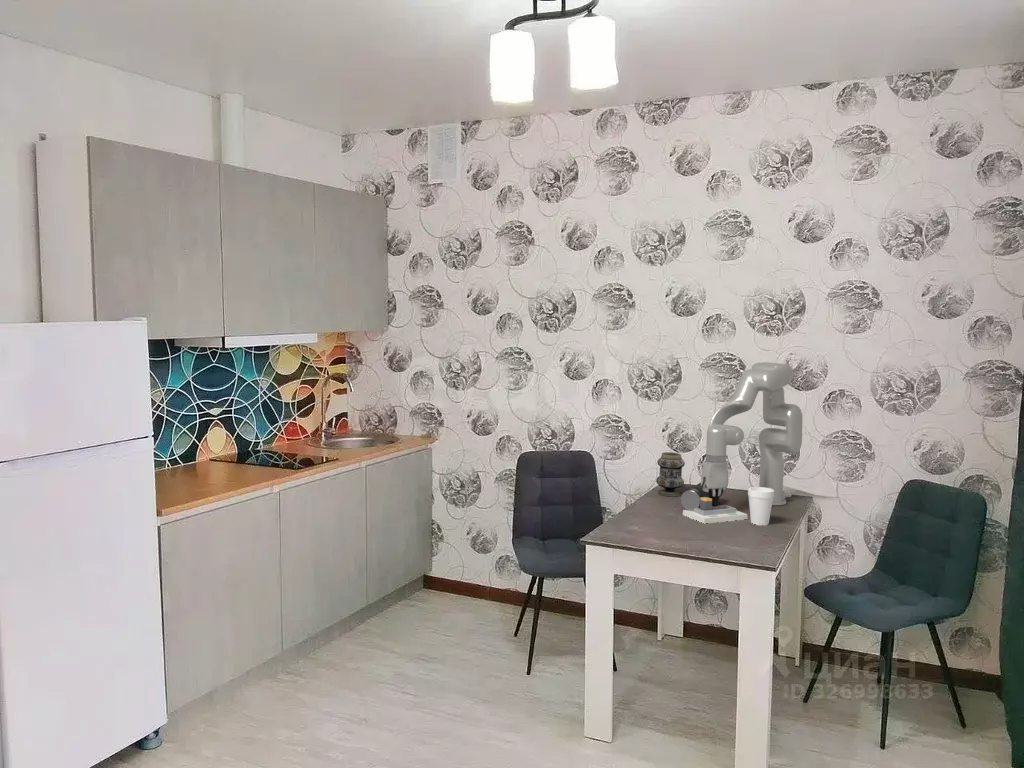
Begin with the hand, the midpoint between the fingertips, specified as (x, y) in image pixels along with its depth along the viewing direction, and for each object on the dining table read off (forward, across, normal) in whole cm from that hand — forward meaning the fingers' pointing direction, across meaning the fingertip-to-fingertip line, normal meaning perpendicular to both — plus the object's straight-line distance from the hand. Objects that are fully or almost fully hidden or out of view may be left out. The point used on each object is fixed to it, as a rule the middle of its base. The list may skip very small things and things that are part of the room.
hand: (714, 505), depth 311 cm
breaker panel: (+5, 0, 0) cm, 5 cm away
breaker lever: (+3, +4, 0) cm, 5 cm away
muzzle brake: (+4, -4, -13) cm, 14 cm away
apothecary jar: (+5, -7, -41) cm, 42 cm away
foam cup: (+5, -11, +13) cm, 18 cm away
